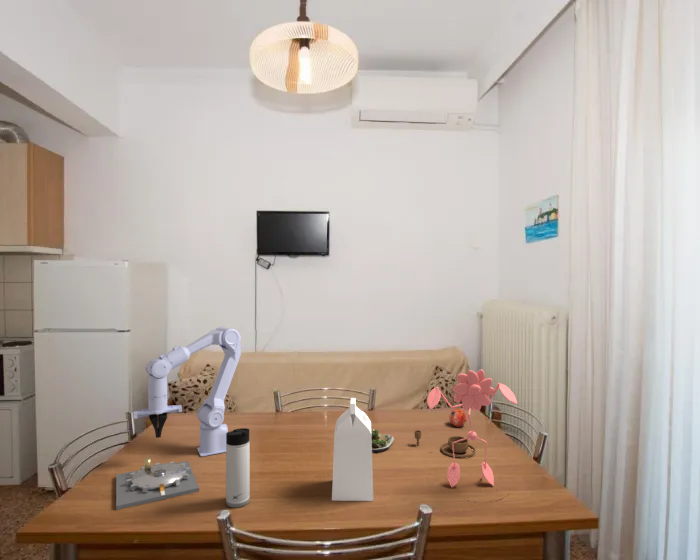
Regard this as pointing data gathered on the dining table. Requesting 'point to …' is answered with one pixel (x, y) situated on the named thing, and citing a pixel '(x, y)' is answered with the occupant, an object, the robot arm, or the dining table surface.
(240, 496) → the travel mug
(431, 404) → the figurine
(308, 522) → the dining table surface
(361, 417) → the milk
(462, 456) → the place setting
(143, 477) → the sprocket
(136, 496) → the timing board
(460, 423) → the pomegranate
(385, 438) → the salad plate
